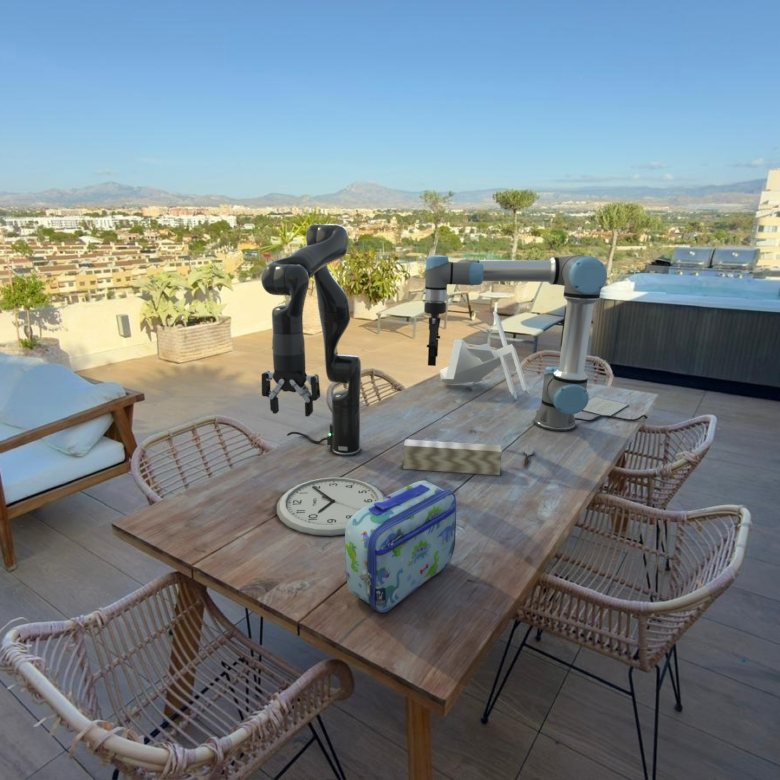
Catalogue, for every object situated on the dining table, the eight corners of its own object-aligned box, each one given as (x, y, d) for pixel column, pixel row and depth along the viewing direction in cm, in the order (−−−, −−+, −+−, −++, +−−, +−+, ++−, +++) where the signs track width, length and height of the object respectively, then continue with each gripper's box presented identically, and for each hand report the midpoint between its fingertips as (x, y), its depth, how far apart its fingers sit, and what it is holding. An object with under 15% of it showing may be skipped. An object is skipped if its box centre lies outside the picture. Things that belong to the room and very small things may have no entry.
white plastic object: (461, 429, 252) (437, 405, 227) (444, 352, 274) (420, 323, 250) (535, 404, 240) (518, 377, 215) (510, 326, 262) (492, 293, 237)
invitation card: (608, 416, 214) (573, 407, 224) (608, 416, 214) (573, 408, 224) (628, 404, 229) (594, 396, 238) (628, 405, 229) (594, 397, 238)
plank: (498, 468, 167) (500, 445, 164) (499, 475, 162) (501, 451, 160) (404, 462, 170) (405, 439, 168) (403, 468, 165) (404, 445, 163)
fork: (520, 467, 167) (520, 462, 166) (525, 449, 181) (526, 443, 181) (528, 469, 166) (529, 463, 165) (533, 450, 180) (533, 444, 180)
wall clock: (392, 527, 129) (268, 531, 127) (391, 533, 130) (269, 537, 127) (383, 473, 158) (282, 475, 155) (383, 478, 158) (282, 480, 156)
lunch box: (374, 626, 100) (375, 530, 93) (338, 598, 107) (337, 508, 101) (459, 568, 117) (465, 484, 111) (424, 547, 124) (427, 467, 118)
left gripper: (322, 348, 126) (324, 411, 131) (267, 345, 129) (271, 406, 134) (311, 356, 119) (313, 422, 124) (253, 352, 122) (258, 416, 127)
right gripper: (426, 296, 194) (424, 352, 200) (421, 306, 170) (419, 369, 177) (447, 297, 193) (444, 353, 199) (445, 307, 169) (441, 370, 176)
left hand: (291, 414), depth 129 cm, fingers open, 8 cm apart
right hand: (432, 360), depth 188 cm, fingers open, 13 cm apart
